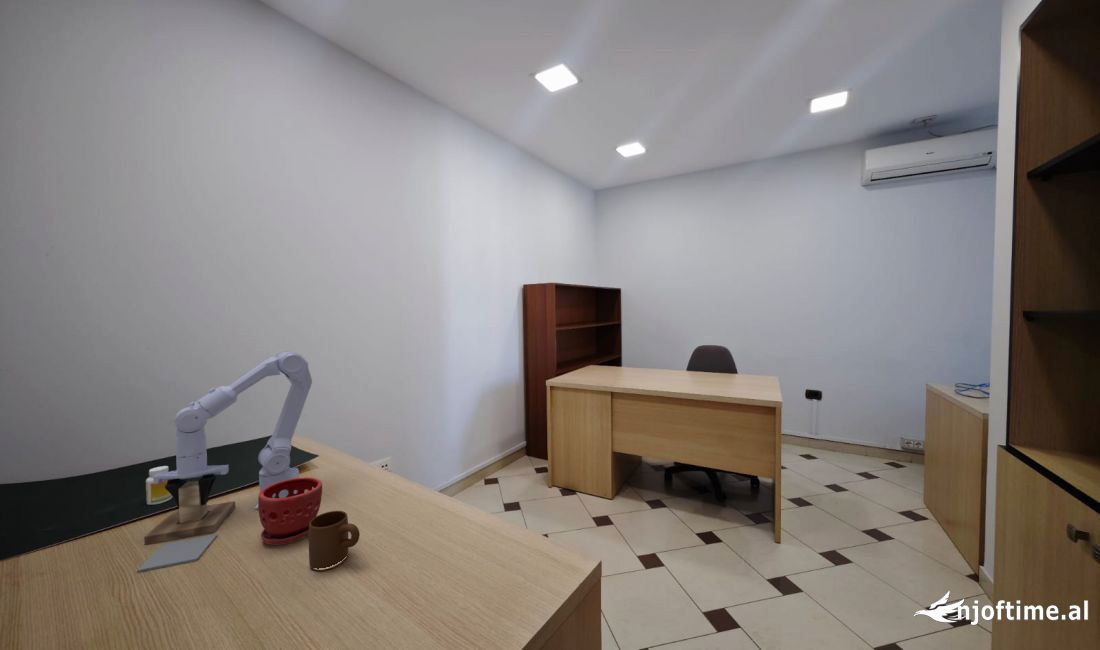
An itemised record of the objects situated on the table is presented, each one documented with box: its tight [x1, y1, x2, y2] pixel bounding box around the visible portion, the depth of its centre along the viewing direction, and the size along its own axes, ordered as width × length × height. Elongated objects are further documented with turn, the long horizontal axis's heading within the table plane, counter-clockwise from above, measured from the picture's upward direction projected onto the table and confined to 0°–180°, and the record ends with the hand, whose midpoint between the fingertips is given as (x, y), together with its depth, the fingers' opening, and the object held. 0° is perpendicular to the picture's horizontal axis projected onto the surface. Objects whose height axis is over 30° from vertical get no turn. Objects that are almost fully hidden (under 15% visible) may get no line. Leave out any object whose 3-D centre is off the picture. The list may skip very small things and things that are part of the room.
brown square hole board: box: [143, 500, 236, 546], centre depth 98 cm, size 13×13×2 cm
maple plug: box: [178, 480, 208, 523], centre depth 98 cm, size 4×4×9 cm
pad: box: [136, 534, 218, 573], centre depth 86 cm, size 10×10×1 cm
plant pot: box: [257, 477, 323, 546], centre depth 94 cm, size 13×13×12 cm
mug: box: [307, 510, 360, 569], centre depth 83 cm, size 12×8×9 cm, turn 73°
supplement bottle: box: [145, 465, 173, 506], centre depth 111 cm, size 5×5×10 cm
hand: (193, 505), depth 98 cm, fingers closed on maple plug, 4 cm apart
